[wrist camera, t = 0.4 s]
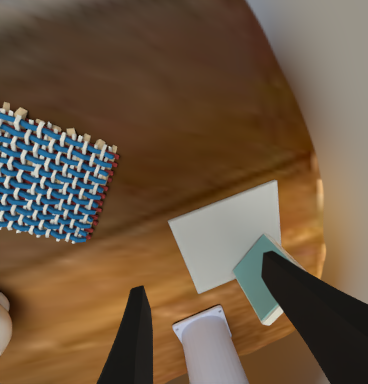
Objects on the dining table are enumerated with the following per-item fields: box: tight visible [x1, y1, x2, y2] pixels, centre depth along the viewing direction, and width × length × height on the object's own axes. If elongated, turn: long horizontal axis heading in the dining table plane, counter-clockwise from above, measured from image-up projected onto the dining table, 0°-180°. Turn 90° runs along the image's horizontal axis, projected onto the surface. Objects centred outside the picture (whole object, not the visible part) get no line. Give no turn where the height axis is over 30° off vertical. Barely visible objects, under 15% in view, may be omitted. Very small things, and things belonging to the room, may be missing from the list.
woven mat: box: [0, 102, 120, 243], centre depth 16 cm, size 10×11×2 cm
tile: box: [232, 233, 307, 326], centre depth 22 cm, size 1×7×7 cm, turn 147°
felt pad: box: [168, 180, 281, 294], centre depth 24 cm, size 13×13×1 cm
